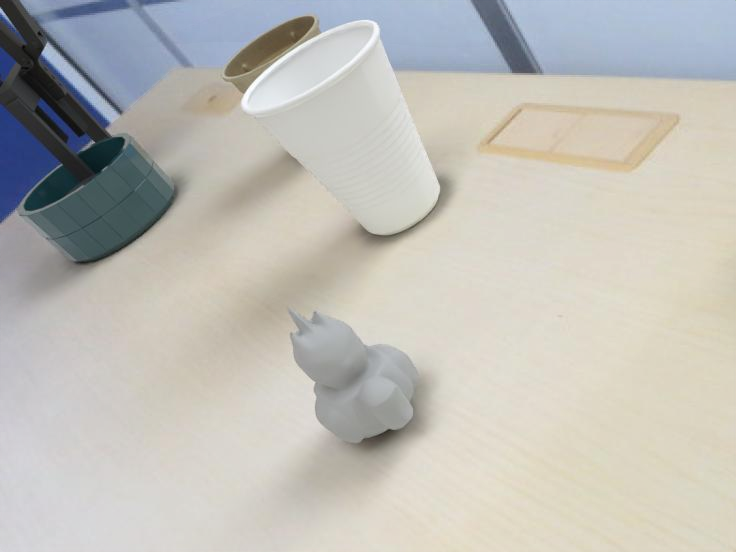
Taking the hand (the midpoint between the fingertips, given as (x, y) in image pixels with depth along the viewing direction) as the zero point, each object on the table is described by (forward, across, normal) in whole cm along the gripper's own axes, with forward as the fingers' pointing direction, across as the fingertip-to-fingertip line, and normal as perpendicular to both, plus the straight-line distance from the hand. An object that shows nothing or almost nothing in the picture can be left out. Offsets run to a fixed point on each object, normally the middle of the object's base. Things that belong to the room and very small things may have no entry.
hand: (73, 136), depth 77 cm
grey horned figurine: (+7, +21, -61) cm, 65 cm away
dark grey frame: (+5, 0, -2) cm, 5 cm away
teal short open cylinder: (+7, +1, -10) cm, 12 cm away
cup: (+7, +26, -40) cm, 49 cm away
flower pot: (+7, +23, -19) cm, 31 cm away
